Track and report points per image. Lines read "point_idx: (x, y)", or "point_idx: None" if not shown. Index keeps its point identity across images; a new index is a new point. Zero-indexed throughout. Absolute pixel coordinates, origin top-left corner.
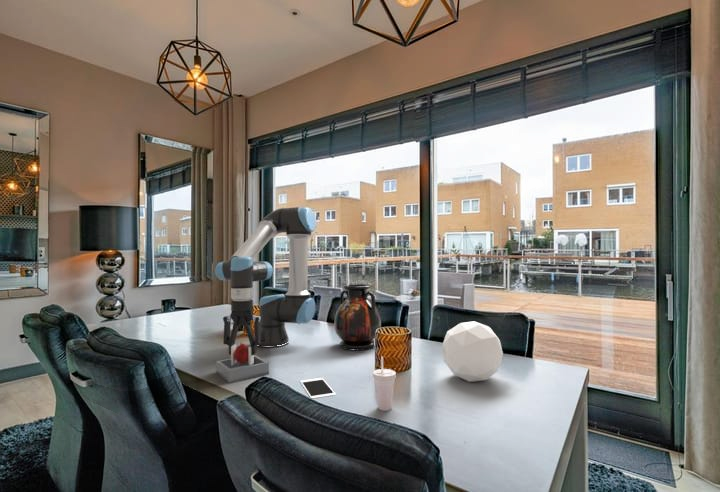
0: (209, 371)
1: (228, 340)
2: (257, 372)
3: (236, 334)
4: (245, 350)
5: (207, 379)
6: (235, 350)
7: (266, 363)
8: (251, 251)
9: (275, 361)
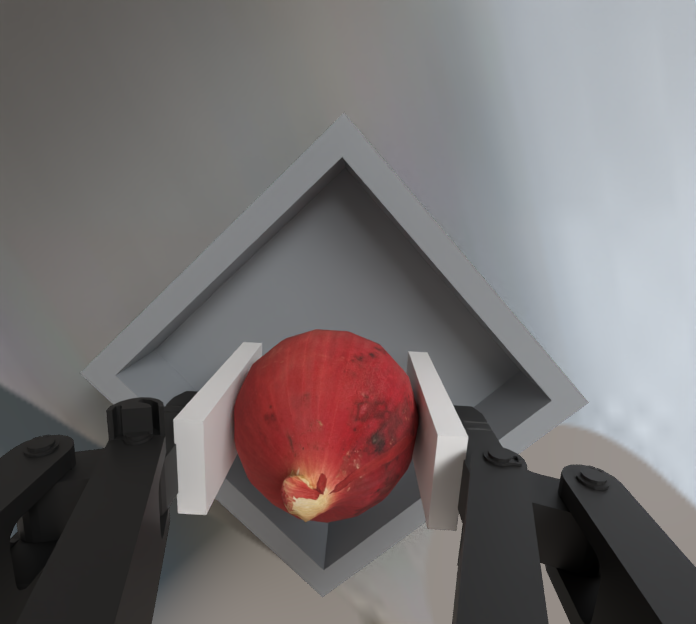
0: (66, 322)
1: (57, 497)
2: None
3: (136, 565)
4: (383, 498)
5: None
6: (253, 483)
7: (567, 414)
8: None
9: (527, 13)
